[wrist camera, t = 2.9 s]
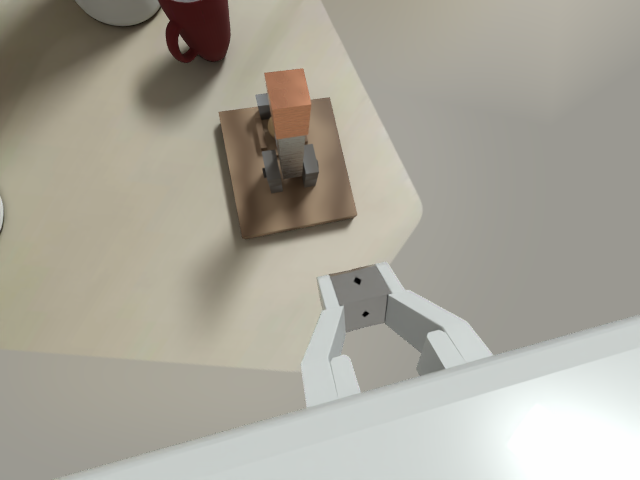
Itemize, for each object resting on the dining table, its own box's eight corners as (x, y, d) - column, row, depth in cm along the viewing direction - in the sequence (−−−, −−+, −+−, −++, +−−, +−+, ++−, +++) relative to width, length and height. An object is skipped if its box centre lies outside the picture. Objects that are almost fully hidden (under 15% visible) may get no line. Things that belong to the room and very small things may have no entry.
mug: (221, 96, 37) (194, 32, 27) (169, 75, 36) (121, 2, 26) (248, 39, 38) (232, -42, 28) (198, 18, 38) (164, -71, 28)
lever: (281, 181, 31) (272, 109, 17) (274, 146, 31) (259, 49, 17) (303, 177, 31) (311, 104, 17) (296, 143, 32) (298, 45, 18)
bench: (245, 239, 34) (232, 231, 28) (222, 120, 36) (205, 85, 29) (353, 217, 36) (367, 205, 30) (327, 106, 38) (335, 70, 31)
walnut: (277, 149, 34) (275, 136, 31) (264, 129, 35) (261, 113, 31) (298, 138, 35) (299, 124, 31) (285, 118, 35) (285, 101, 32)
